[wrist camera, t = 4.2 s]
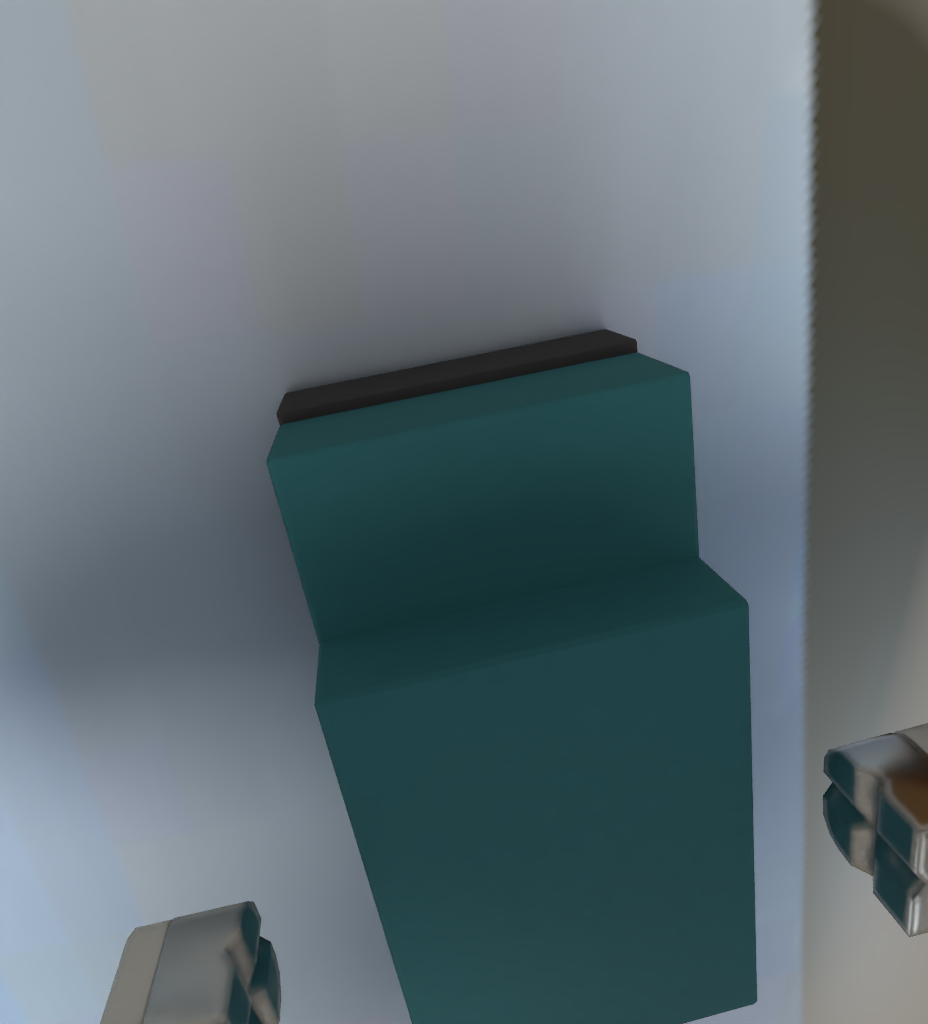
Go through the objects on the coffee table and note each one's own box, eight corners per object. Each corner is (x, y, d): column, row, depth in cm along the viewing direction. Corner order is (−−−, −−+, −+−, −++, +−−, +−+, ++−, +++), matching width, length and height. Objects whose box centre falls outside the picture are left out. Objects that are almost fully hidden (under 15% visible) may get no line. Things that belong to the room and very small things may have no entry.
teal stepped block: (652, 817, 18) (759, 1022, 13) (415, 877, 17) (438, 1112, 12) (607, 328, 13) (747, 375, 8) (283, 392, 13) (244, 480, 8)
